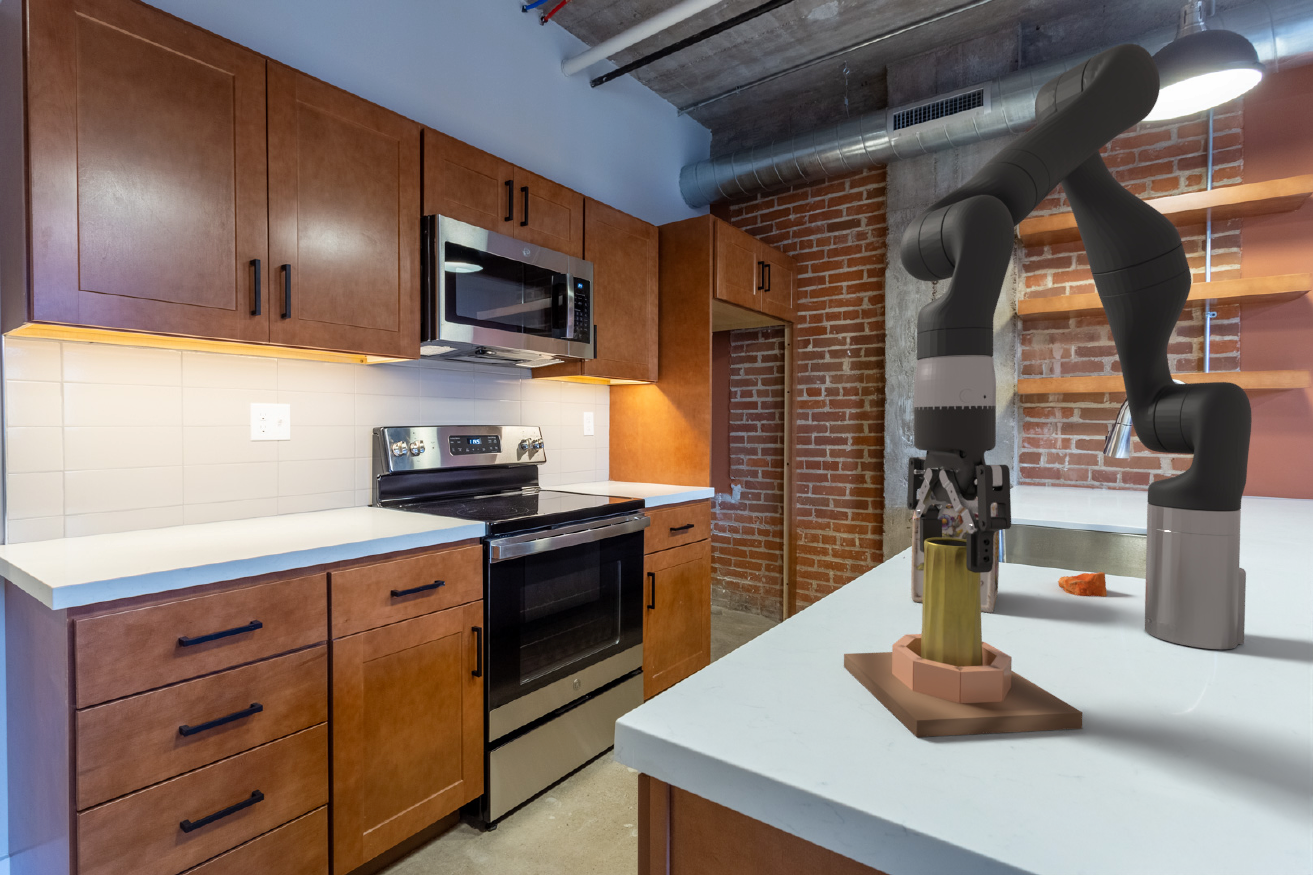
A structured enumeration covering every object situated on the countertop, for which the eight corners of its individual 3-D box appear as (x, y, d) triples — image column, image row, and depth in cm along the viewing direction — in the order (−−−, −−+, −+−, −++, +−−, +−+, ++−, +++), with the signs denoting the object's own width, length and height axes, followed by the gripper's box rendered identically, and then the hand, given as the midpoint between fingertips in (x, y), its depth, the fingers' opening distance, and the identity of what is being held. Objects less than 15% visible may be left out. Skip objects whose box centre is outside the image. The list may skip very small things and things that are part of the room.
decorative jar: (909, 602, 97) (910, 487, 97) (921, 585, 107) (922, 481, 107) (996, 614, 91) (998, 492, 91) (1000, 596, 101) (1002, 485, 101)
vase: (992, 694, 61) (994, 548, 60) (926, 689, 62) (927, 546, 61) (973, 670, 67) (974, 537, 66) (912, 665, 68) (913, 535, 67)
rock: (1022, 588, 108) (1023, 564, 108) (1080, 584, 111) (1080, 560, 111) (1084, 608, 96) (1084, 581, 96) (1147, 603, 99) (1147, 577, 99)
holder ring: (967, 658, 70) (967, 632, 70) (1032, 699, 59) (1033, 668, 59) (878, 662, 69) (878, 635, 69) (929, 704, 58) (929, 673, 58)
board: (975, 661, 73) (975, 648, 73) (1082, 728, 57) (1082, 712, 57) (843, 666, 71) (844, 653, 71) (916, 736, 55) (916, 720, 55)
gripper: (1038, 401, 57) (1036, 578, 57) (948, 405, 71) (948, 546, 71) (960, 401, 56) (959, 581, 56) (885, 405, 70) (885, 548, 70)
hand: (953, 561), depth 64 cm, fingers open, 8 cm apart
